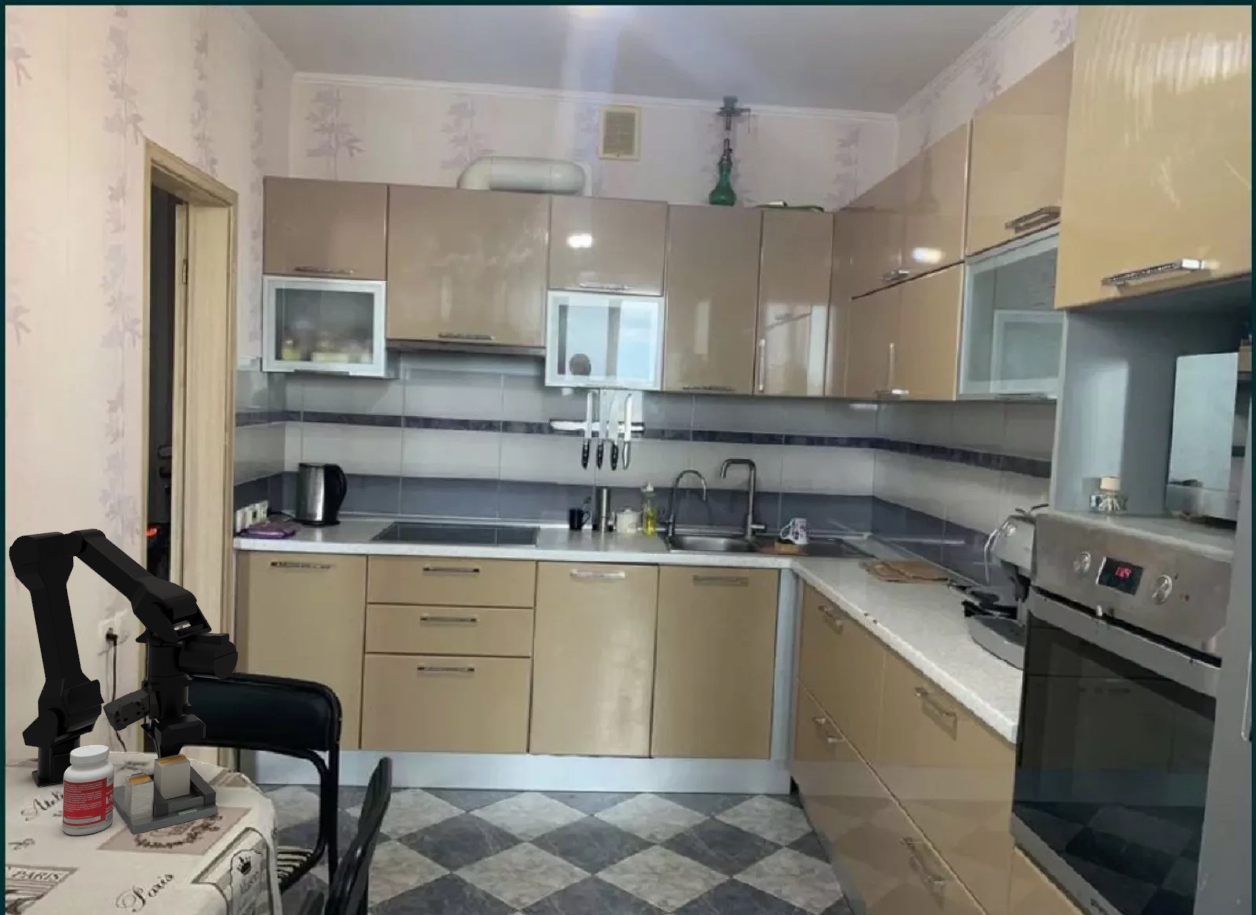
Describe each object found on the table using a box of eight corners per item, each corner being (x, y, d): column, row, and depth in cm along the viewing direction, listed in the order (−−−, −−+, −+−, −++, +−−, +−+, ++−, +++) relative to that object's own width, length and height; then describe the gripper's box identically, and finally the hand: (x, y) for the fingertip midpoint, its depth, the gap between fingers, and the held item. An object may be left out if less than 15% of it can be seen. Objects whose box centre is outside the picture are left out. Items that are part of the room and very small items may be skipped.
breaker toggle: (153, 791, 135) (154, 757, 135) (181, 785, 138) (182, 751, 138) (160, 800, 132) (161, 765, 132) (189, 793, 135) (190, 759, 135)
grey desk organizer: (107, 796, 136) (108, 754, 136) (185, 779, 143) (187, 739, 143) (133, 834, 124) (134, 788, 124) (217, 814, 131) (218, 770, 131)
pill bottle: (114, 830, 125) (116, 753, 124) (62, 840, 121) (64, 760, 121) (111, 813, 130) (113, 739, 130) (61, 822, 127) (63, 746, 126)
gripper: (95, 666, 139) (93, 764, 139) (124, 696, 125) (122, 804, 126) (172, 656, 146) (169, 749, 147) (208, 683, 133) (205, 785, 133)
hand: (165, 771), depth 138 cm, fingers closed
